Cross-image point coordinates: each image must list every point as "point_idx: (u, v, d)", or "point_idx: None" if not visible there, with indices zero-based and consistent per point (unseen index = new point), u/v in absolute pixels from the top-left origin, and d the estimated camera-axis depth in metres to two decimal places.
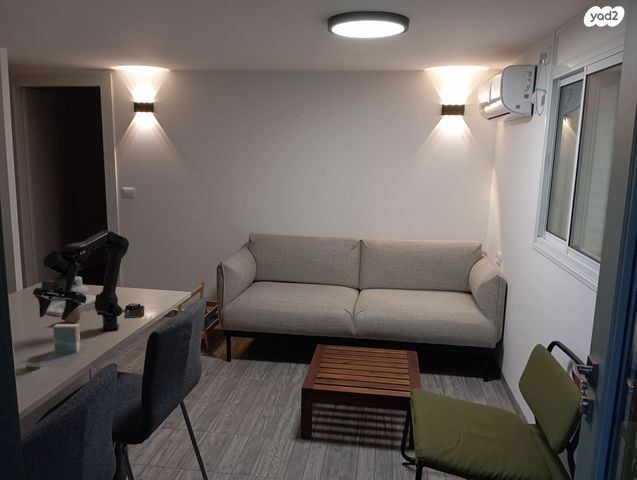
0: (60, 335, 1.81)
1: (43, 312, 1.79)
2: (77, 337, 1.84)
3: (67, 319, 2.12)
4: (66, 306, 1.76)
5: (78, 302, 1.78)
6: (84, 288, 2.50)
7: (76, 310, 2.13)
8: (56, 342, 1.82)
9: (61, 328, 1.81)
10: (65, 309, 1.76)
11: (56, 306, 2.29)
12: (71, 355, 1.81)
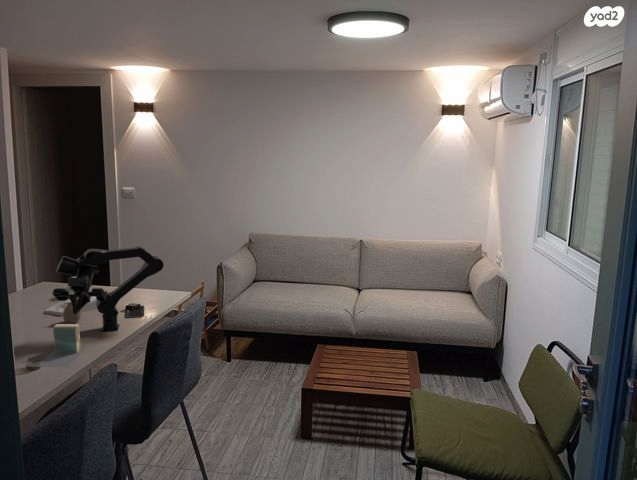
0: (60, 335, 1.81)
1: None
2: (77, 337, 1.84)
3: (67, 319, 2.12)
4: (79, 301, 1.92)
5: (88, 298, 1.95)
6: None
7: None
8: (56, 342, 1.82)
9: (61, 328, 1.81)
10: (78, 304, 1.92)
11: (57, 306, 2.30)
12: (71, 355, 1.81)
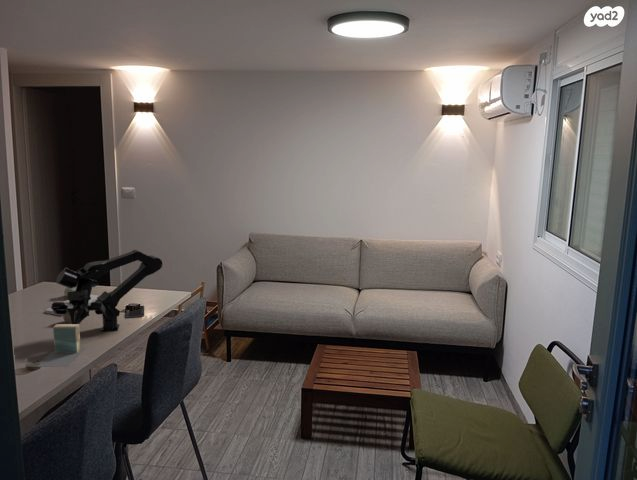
0: (60, 335, 1.81)
1: None
2: (77, 337, 1.84)
3: (67, 319, 2.12)
4: (77, 315, 1.91)
5: (87, 312, 1.94)
6: None
7: None
8: (56, 342, 1.82)
9: (61, 328, 1.81)
10: (77, 318, 1.90)
11: None
12: (71, 355, 1.81)
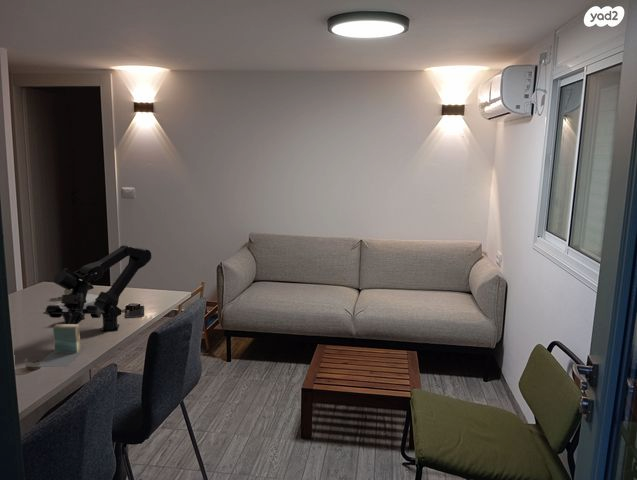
0: (60, 335, 1.81)
1: None
2: (77, 337, 1.84)
3: None
4: (72, 319, 1.87)
5: (83, 316, 1.90)
6: None
7: None
8: (56, 342, 1.82)
9: (61, 328, 1.81)
10: (72, 322, 1.86)
11: None
12: (71, 355, 1.81)
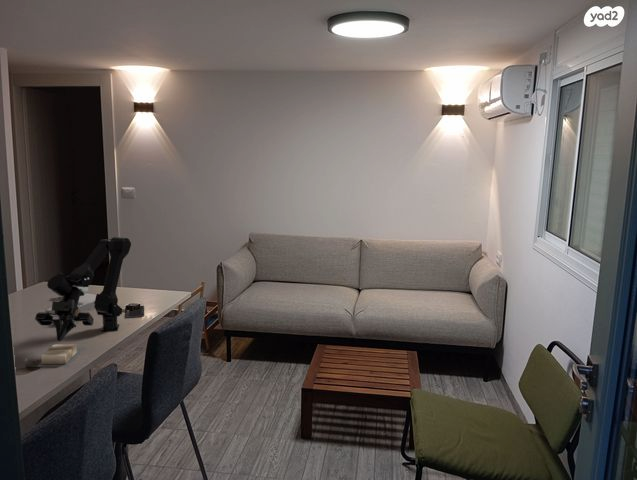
0: None
1: None
2: (70, 354, 1.78)
3: None
4: (63, 327, 1.78)
5: (74, 323, 1.82)
6: (84, 288, 2.50)
7: (76, 310, 2.13)
8: None
9: None
10: (62, 330, 1.78)
11: None
12: None
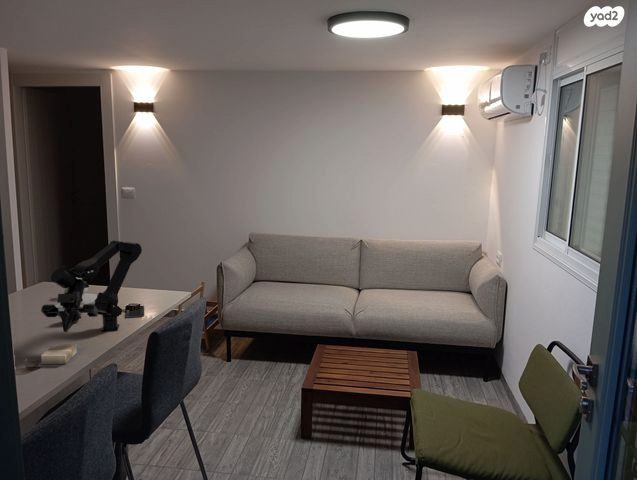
0: None
1: None
2: (70, 354, 1.78)
3: None
4: (69, 318, 1.83)
5: (79, 315, 1.86)
6: (84, 288, 2.50)
7: None
8: None
9: None
10: (68, 321, 1.82)
11: (60, 305, 2.30)
12: None
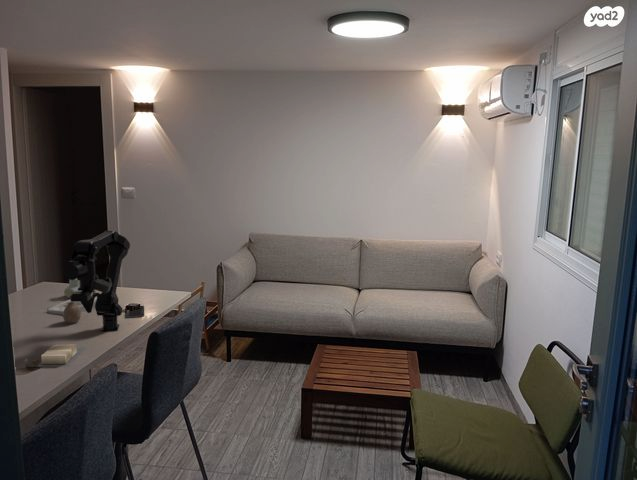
0: None
1: None
2: (70, 354, 1.78)
3: (67, 319, 2.12)
4: (93, 300, 1.93)
5: None
6: None
7: (76, 310, 2.13)
8: None
9: None
10: (93, 302, 1.93)
11: (60, 305, 2.30)
12: None
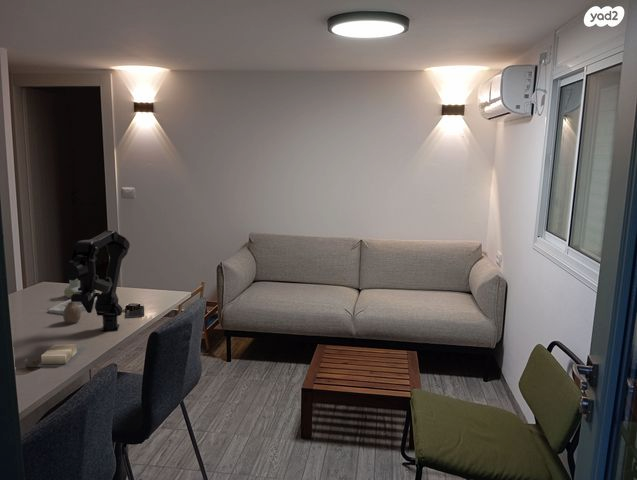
0: None
1: None
2: (70, 354, 1.78)
3: (67, 319, 2.12)
4: (93, 300, 1.93)
5: None
6: None
7: (76, 310, 2.13)
8: None
9: None
10: (93, 303, 1.93)
11: (61, 305, 2.30)
12: None
